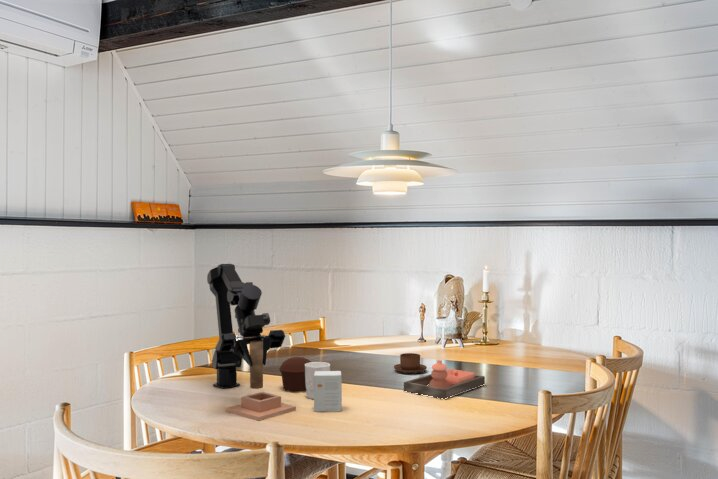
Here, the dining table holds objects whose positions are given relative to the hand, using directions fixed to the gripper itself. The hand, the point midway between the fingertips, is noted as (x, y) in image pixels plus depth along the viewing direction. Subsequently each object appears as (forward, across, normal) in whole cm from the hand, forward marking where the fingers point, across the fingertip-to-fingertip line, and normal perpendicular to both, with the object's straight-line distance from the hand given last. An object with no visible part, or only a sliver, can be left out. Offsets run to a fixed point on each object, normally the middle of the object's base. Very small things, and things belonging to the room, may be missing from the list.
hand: (258, 365), depth 187 cm
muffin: (-6, +20, +25) cm, 32 cm away
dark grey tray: (+9, +64, +10) cm, 65 cm away
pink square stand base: (+8, +1, +11) cm, 14 cm away
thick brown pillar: (+4, 0, +6) cm, 7 cm away
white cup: (+3, +22, +16) cm, 28 cm away
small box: (+13, +19, +6) cm, 24 cm away
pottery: (+8, +66, +11) cm, 67 cm away
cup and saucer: (-10, +66, +30) cm, 73 cm away
